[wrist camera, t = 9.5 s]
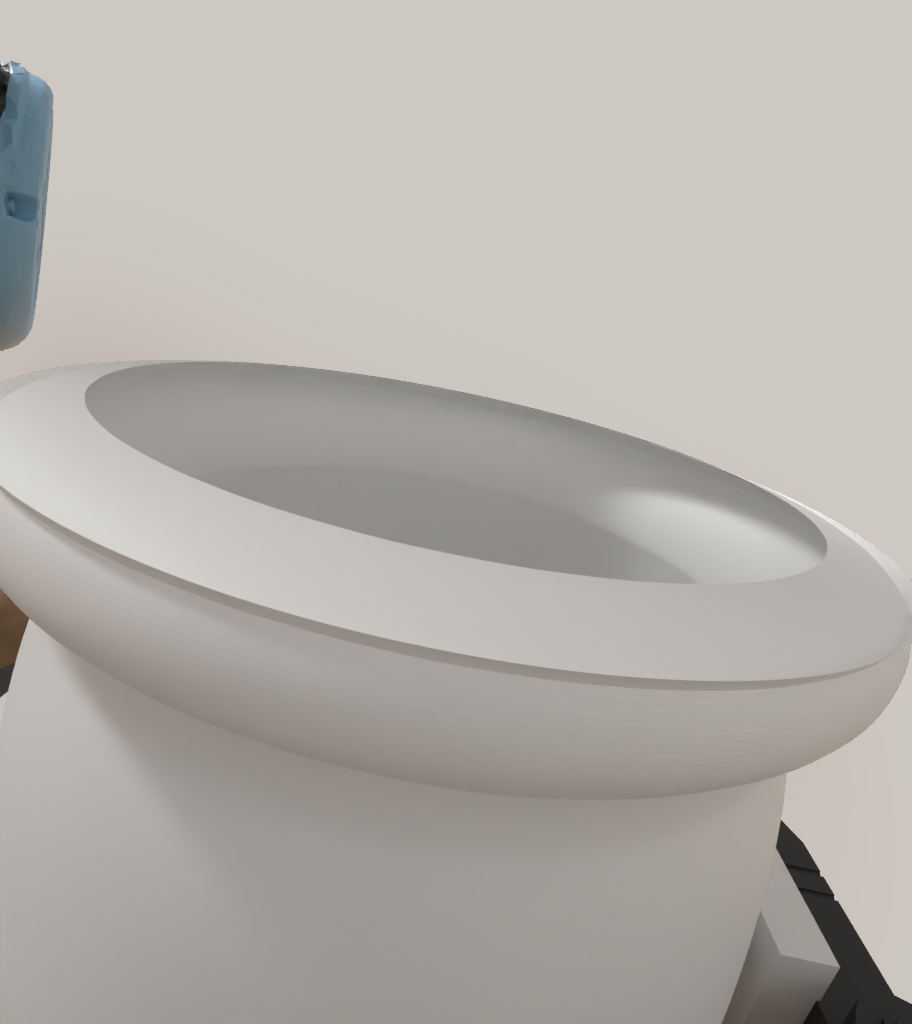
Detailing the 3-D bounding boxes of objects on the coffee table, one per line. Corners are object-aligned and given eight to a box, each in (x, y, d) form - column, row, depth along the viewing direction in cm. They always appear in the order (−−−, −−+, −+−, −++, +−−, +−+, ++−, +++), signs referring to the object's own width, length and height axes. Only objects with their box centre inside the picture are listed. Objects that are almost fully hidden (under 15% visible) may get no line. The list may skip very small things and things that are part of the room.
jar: (273, 824, 18) (336, 354, 14) (587, 980, 16) (795, 467, 11) (-152, 1336, 9) (-425, 330, 4) (479, 1954, 6) (1701, 1140, 2)
